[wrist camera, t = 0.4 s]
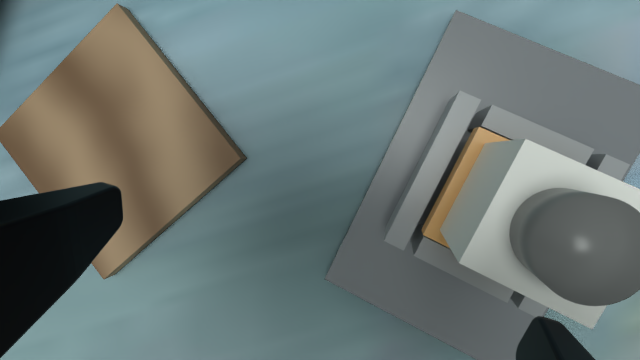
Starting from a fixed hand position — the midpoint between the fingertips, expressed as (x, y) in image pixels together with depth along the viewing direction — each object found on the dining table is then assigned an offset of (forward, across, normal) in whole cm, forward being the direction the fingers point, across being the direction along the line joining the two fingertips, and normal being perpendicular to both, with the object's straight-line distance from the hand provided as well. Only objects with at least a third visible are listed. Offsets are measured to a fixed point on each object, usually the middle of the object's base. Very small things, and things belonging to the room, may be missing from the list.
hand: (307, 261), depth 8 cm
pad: (+14, +16, +7) cm, 22 cm away
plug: (+14, -6, +4) cm, 15 cm away
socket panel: (+15, -6, +4) cm, 16 cm away
